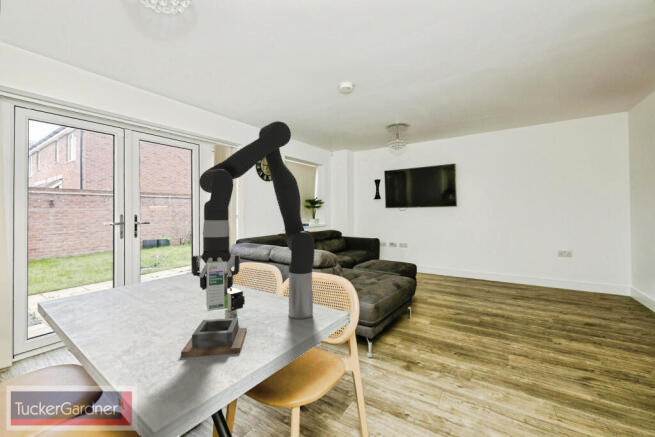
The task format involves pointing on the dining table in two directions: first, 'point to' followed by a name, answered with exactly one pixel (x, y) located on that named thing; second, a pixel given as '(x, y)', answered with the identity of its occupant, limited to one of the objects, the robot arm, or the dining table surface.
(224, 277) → the syrup box
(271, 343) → the dining table surface
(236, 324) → the dock socket
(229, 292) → the pneumatic valve
